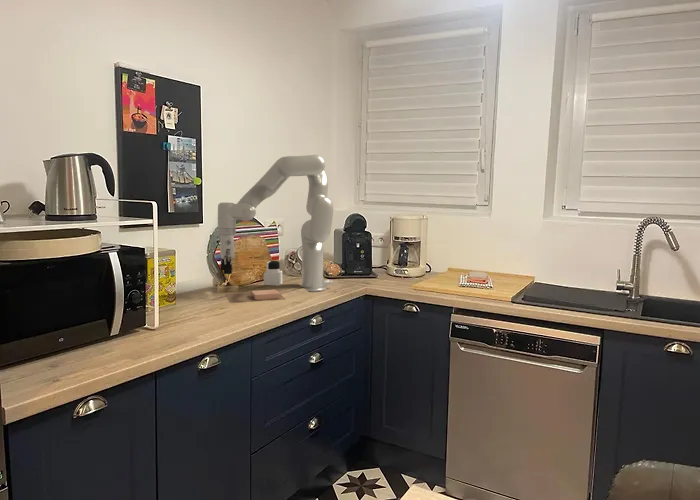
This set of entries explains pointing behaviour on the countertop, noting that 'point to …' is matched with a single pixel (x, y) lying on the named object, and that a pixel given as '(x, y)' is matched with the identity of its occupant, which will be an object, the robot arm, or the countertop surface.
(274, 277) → the medicine bottle
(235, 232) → the robot arm
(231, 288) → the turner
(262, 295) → the tile
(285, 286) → the countertop surface
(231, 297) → the board
